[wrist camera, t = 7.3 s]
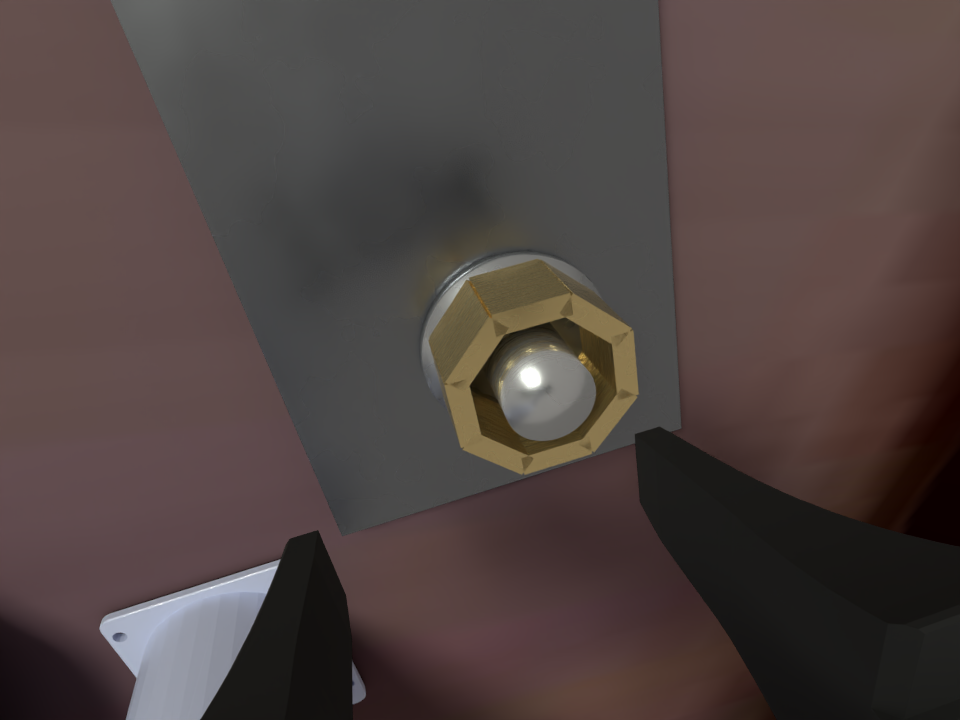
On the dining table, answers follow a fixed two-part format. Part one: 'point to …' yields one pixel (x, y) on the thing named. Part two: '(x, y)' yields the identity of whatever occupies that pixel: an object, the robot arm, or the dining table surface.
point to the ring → (512, 307)
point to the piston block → (422, 210)
